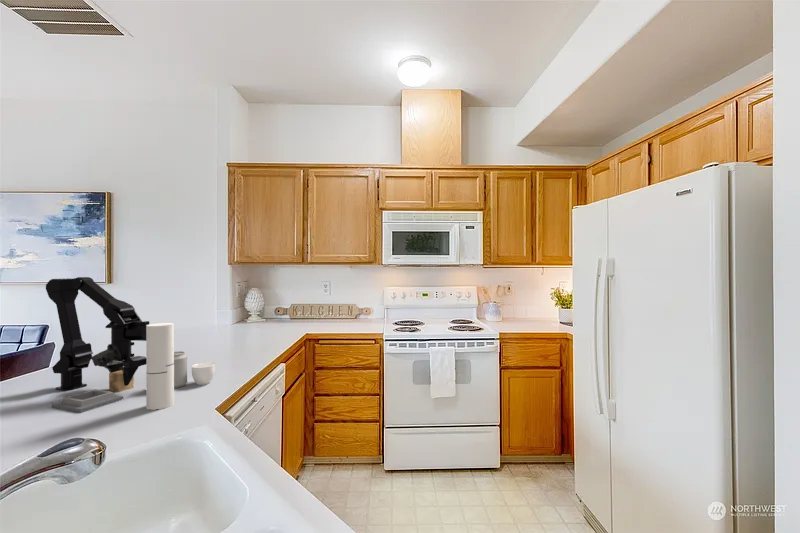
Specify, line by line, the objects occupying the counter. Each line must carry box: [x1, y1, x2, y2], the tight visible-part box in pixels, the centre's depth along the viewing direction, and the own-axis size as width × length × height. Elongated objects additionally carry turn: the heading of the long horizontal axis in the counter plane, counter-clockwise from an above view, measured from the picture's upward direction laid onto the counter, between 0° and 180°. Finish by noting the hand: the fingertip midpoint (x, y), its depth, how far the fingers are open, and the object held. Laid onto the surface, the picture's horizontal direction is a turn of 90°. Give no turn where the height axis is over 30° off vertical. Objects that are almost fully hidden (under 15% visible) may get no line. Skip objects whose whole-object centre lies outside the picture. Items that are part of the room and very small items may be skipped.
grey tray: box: [51, 389, 124, 414], centre depth 118 cm, size 14×12×2 cm
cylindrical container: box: [145, 322, 175, 411], centre depth 115 cm, size 7×7×25 cm
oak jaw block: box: [108, 370, 135, 393], centre depth 132 cm, size 5×5×6 cm
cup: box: [191, 361, 216, 386], centre depth 138 cm, size 8×10×7 cm
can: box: [174, 350, 188, 389], centre depth 135 cm, size 8×8×12 cm
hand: (121, 384), depth 132 cm, fingers closed on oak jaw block, 5 cm apart
